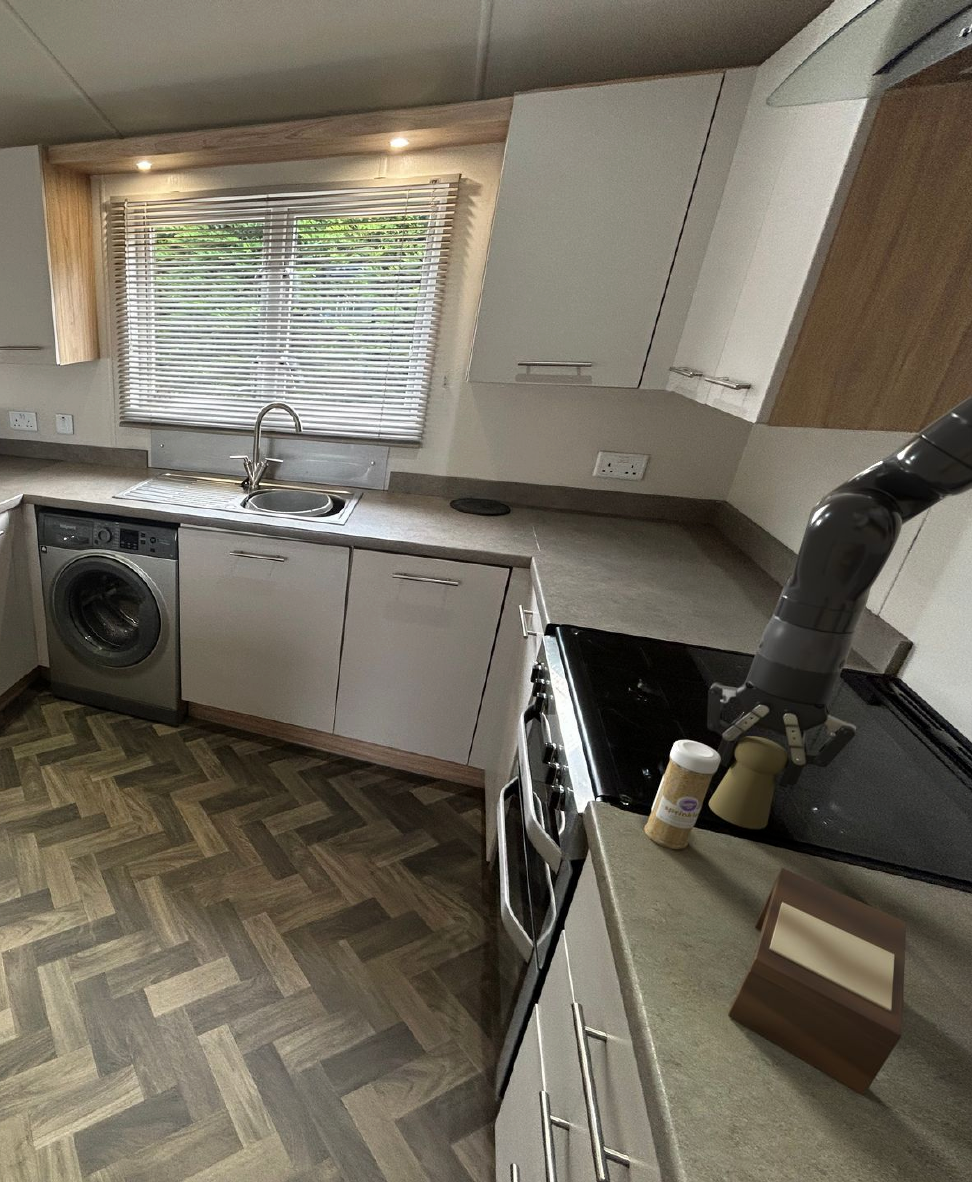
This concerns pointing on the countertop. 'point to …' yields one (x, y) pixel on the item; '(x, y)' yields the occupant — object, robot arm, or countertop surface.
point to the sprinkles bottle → (681, 793)
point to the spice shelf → (825, 980)
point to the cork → (750, 783)
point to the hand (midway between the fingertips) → (753, 772)
